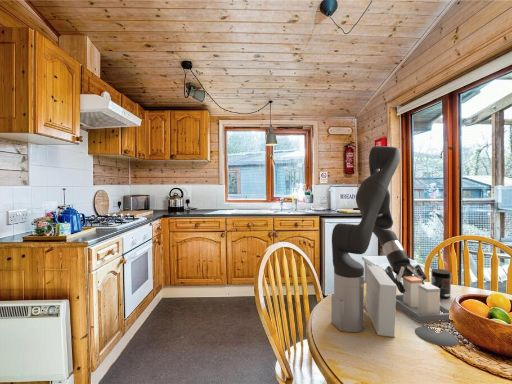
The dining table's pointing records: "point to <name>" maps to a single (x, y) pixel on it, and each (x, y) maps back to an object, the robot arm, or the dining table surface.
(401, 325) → the dining table surface
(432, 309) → the white lid box
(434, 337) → the slate mat
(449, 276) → the supplement container
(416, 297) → the rust lid box
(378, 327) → the skincare box
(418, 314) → the parts tray
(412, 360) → the dining table surface
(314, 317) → the dining table surface
